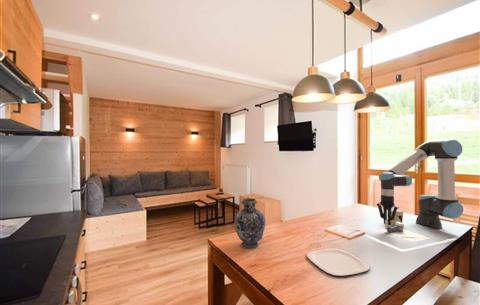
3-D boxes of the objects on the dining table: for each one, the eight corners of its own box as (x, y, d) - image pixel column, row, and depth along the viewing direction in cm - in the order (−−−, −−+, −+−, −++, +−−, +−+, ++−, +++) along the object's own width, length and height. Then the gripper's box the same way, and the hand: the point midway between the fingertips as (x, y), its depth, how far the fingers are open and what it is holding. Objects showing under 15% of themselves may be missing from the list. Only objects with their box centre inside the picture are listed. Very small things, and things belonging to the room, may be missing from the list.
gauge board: (396, 229, 162) (396, 226, 162) (431, 240, 141) (431, 238, 141) (377, 232, 156) (377, 230, 156) (411, 245, 135) (411, 242, 135)
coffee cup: (401, 229, 162) (401, 212, 162) (386, 225, 169) (386, 210, 169) (404, 226, 168) (404, 210, 168) (390, 223, 175) (390, 207, 175)
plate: (377, 272, 107) (377, 268, 107) (332, 281, 99) (332, 277, 99) (339, 249, 131) (339, 246, 131) (301, 255, 124) (301, 252, 124)
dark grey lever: (398, 229, 158) (398, 221, 158) (405, 231, 153) (405, 223, 153) (384, 231, 153) (384, 223, 153) (391, 233, 149) (391, 225, 149)
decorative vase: (268, 252, 127) (267, 203, 126) (236, 254, 125) (234, 204, 125) (262, 237, 148) (261, 195, 148) (234, 239, 147) (233, 196, 146)
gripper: (374, 194, 156) (374, 227, 156) (395, 197, 145) (395, 233, 146) (379, 192, 160) (379, 225, 161) (400, 195, 149) (400, 231, 150)
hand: (387, 229), depth 153 cm, fingers closed
